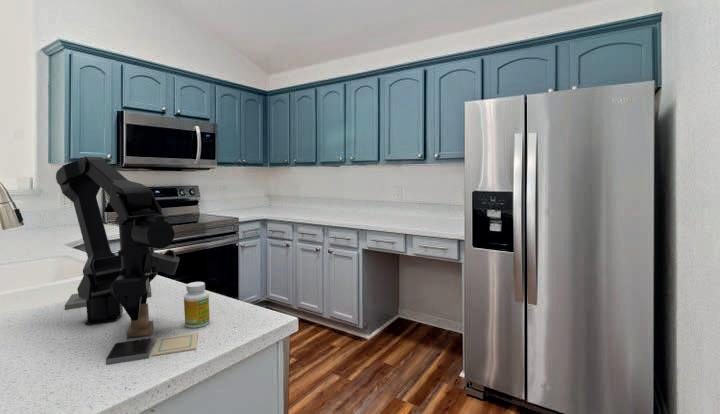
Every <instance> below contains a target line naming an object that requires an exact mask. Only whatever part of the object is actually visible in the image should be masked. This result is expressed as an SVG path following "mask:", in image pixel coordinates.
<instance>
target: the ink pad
mask: <svg viewBox="0 0 720 414" xmlns="http://www.w3.org/2000/svg"><path fill="white" fill-rule="evenodd" d="M154 345H155V340H154V338H153V337H149V338H148V337H147V338H142V339H134V340H127V341H119V342H116V343H114V344H113V347H112V348H111V350H110V352H109V353H108V354H107V356H106V358H105V365H112V364H119V363H123V362H124V363H125V362H131V361H132V362H133V361H139V360H143V359H149V357H150V356H151V353H152V350H153V348H154Z"/></svg>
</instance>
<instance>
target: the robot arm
mask: <svg viewBox="0 0 720 414" xmlns="http://www.w3.org/2000/svg"><path fill="white" fill-rule="evenodd" d="M55 181H56V183H57V184H58V185H59V187H60V190H61V193H62V194H63V196H65V197H66V198H67V199H68V200H70V201H71V202H72V203H73V206H74V210H75V214H76V218H77V222H78V225H79V229H80V233H81V237H82V240H83V245H84V248H85V252H86V256H87V259H86V262H85V264H84V266H83V269H82V276H83V277H82V278H81V280H80V283H79V285H78V287H77V294H78V295H79V297H80V298H82V299H85V300H86V307H85V308H86V317H87V320H86V321H85V322H84V325H93V324H101V323H108V322H109V323H111V322H115V321H116V322H117V321H118V319H119V317H120V316H121V315H122V314H123V312H124V311H125V312H126V313H127V315H128V317H129V319H130V321H131V320H132V321H135V320H138V317H139V311H140V304H147V302H148V301H147V300H148V298H147V296H148V291H149V286H150V285H151V282H152V281H153V280H154V279H155V278H156V277H157V276H158V272H160V273H163V274H166V275H168V276H174V275H175V273H176V271H177V269H178V265H179V262H180V260H181V258H180V257H179V256H176V251H175V250H172V249H167V250H166V251H165V252H164V253H162V252H155V249H161V250H162V249H164V248H167V247H168V246H170V245H171V244H172V243H173V241H174V238H175V229H174V228H173V226H172V224H171V223H169V222H167V221H166V220H165V215H164V214H163V212H162V207H161V206H160V204H159V203H158V200H157V199H156V197H155V194H154V193H153V191H152V189H151V188H150V187H148V186H146V185H145V184H142V183H140V182H137V181H131V180H129V179H127V178H126V177H125V176H124V175H122V173H120V172H119V171H118V170H117V169H115V168H114V167H113V166H112V165H111V164H110V163H109V162H108V160H107V158H105V157H102V156H82V157H80V158H78V159H77V160H75V161H72V162H69V163H66V164H63V165H62V166H61V167H60V168H59V169H58V170H57V171H56V173H55ZM100 189H102V190H103V191H104V192H105V193H107V194H108V196H109V198H108V199H109V200H108V203H109V206H111V208H112V209H113V210H114V212H115V213H116V214H117V216H116V218H115V219H114V222H115V223H117V224H118V232H119V250H118V251H117V255H116V254H115V253H113V252H112V250H111V247H110V242H109V238H108V236H107V231H106V228H105V224H104V221H103V217H102V214H101V210H100V207H99V202H98V199H97V196H98V193H99V192H100ZM152 271H153V272H152ZM123 309H124V310H123Z"/></svg>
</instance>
